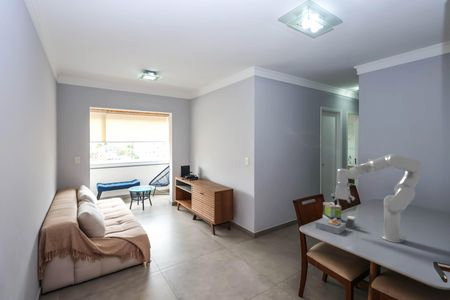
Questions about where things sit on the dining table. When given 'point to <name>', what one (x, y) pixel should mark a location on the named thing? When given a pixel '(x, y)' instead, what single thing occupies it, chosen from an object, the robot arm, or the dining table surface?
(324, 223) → the socket block
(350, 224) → the plug
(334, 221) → the shutter
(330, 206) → the tea box
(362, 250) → the dining table surface
